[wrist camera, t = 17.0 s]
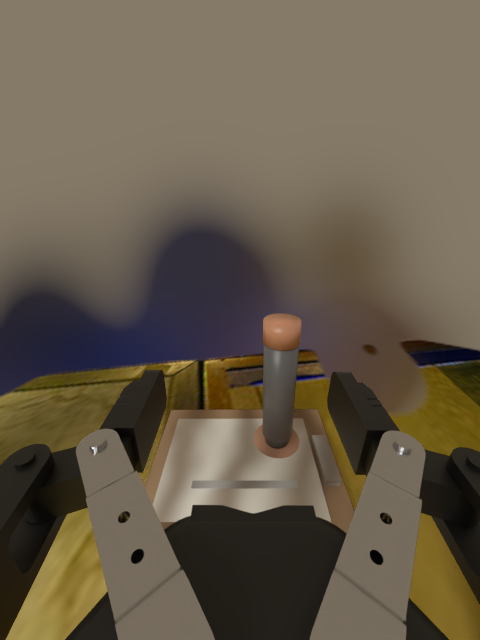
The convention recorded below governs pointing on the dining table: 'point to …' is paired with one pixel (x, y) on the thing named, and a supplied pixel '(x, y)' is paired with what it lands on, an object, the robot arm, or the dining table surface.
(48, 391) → the dining table surface
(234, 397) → the dining table surface
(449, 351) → the dining table surface
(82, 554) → the dining table surface
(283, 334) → the marker
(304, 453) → the clipboard
